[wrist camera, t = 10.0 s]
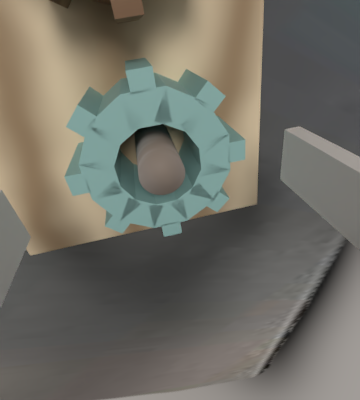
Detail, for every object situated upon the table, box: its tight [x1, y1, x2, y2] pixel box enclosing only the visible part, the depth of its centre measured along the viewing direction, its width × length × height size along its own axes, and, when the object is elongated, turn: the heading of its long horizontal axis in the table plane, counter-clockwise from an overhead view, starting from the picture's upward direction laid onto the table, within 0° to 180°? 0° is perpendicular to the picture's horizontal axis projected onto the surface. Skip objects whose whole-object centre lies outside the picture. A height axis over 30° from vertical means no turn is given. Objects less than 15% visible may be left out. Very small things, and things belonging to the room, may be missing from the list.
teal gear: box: [64, 58, 245, 237], centre depth 16 cm, size 10×10×5 cm
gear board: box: [0, 0, 264, 256], centre depth 14 cm, size 20×24×8 cm
